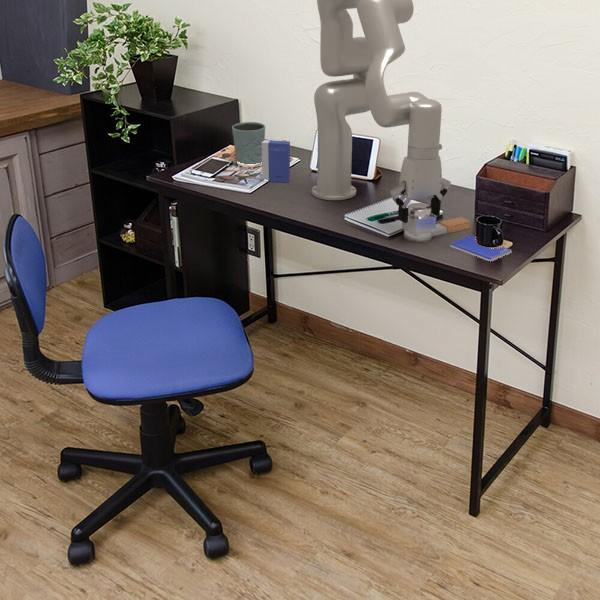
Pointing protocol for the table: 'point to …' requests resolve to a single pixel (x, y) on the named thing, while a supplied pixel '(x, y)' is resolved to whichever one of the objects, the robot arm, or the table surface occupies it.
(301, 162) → the table surface
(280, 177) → the walkman
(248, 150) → the green tapered cup
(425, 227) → the frosted rounded block
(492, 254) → the blue flat block
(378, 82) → the robot arm
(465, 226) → the ratchet
